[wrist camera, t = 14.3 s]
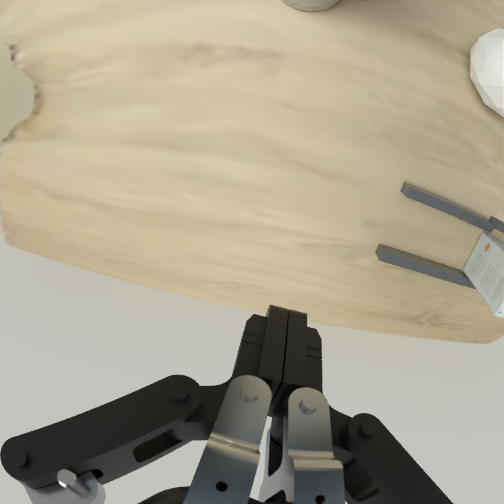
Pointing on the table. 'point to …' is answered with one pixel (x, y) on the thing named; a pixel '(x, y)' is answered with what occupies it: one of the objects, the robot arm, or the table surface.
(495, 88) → the geodesic sphere
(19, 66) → the table surface
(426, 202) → the grey u-shaped frame
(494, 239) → the small box
